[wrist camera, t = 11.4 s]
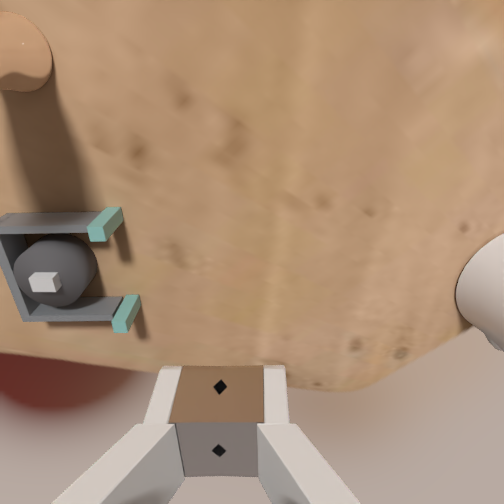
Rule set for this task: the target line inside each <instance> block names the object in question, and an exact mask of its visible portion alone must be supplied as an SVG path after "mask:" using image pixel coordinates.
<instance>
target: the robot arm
mask: <svg viewBox="0 0 504 504" xmlns="http://www.w3.org/2000/svg"><path fill="white" fill-rule="evenodd" d="M456 301H457V306H458V308H459V311H460V312H461V314H462V315H463V317H464V318H465V319H466V320H467V321H468V322H470V323H471V324H472V325H474V326H475V327H477V328H478V329H479V330H481V331H482V332H483V333H484V334H485V336H486V337H487V339H488V341H489V342H490V343H491V344H492V345H493V346H494V347H495V348H496V349H498V350H503V351H504V234H502V235H500V236H498V237H496V238H495V239H493V240H492V241H490V242H489V243H487V244H486V245H485V246H484V247H482V248H481V249H480V250H479V251H478V252H477V253H476V254H475V255H474V256H473V257H472V258H471V259H470V261H469V262H468V263H467V265H466V266H465V268H464V270H463V271H462V273H461V275H460V278H459V281H458V284H457V289H456ZM263 373H264V379H263ZM197 476H243V477H244V476H245V477H259V481H260V482H261V484H262V486H263V488H264V490H265V492H266V494H267V495H268V497H269V499H270V501H271V502H272V504H361V503H360V501H359V500H358V499H357V498H356V496H355V495H354V494H353V493H352V492H351V490H350V489H349V488H348V487H347V486H346V484H345V483H344V482H343V481H342V479H341V478H340V477H339V475H338V474H337V473H336V472H335V471H334V469H333V468H332V467H331V466H330V464H329V463H328V462H327V461H326V459H325V458H324V457H323V456H322V455H321V453H320V452H319V451H318V450H317V448H316V447H315V446H314V445H313V443H312V442H311V441H310V440H309V439H308V437H307V436H306V435H305V434H304V432H303V431H302V430H301V429H300V427H299V426H298V425H297V424H293V423H292V424H291V423H290V418H289V407H288V395H287V383H286V371H285V367H284V365H264V368H263V365H258V366H163V367H162V368H161V370H160V371H159V374H158V378H157V381H156V384H155V387H154V390H153V393H152V396H151V400H150V403H149V406H148V409H147V412H146V415H145V418H144V421H143V424H136V425H135V426H133V427H132V428H131V429H130V430H129V431H128V432H127V433H126V434H125V435H124V436H123V437H122V438H121V439H120V440H119V441H117V442H116V443H115V444H114V445H113V446H112V447H111V448H110V449H109V450H108V451H107V452H106V453H105V454H104V455H102V456H101V457H100V458H99V459H98V460H97V461H96V462H95V463H94V464H93V465H92V466H91V467H90V468H89V469H87V470H86V471H85V472H84V473H83V474H82V475H81V476H80V477H79V478H78V479H77V480H76V481H75V482H74V483H72V485H70V486H69V487H68V488H67V489H66V490H65V491H64V492H63V493H62V494H61V495H60V496H59V497H58V498H56V499H55V500H54V501H53V502H52V503H51V504H168V503H169V501H170V500H171V498H172V497H173V496H174V494H175V493H176V491H177V490H178V488H179V487H180V486H181V484H182V483H183V481H184V480H185V478H184V477H197Z"/></svg>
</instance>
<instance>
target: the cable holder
mask: <svg viewBox="0 0 504 504" xmlns="http://www.w3.org/2000/svg"><path fill="white" fill-rule="evenodd" d="M122 222H123V215H122V211H121V207H106V208H105V209H104V210H103V211H102V212H50V213H7V214H5V215H3V216H2V217H0V266H1V268H2V271H3V273H4V276H5V278H6V280H7V283H8V285H9V288H10V290H11V293H12V295H13V298H14V300H15V303H16V305H17V308H18V310H19V313H20V315H21V318H22V320H23V322H42V321H111V323H112V327H113V330H114V333H128V331H129V329H130V327H131V325H132V323H133V321H134V319H135V317H136V315H137V313H138V310H139V308H140V306H141V302H140V297H139V295H126V296H125V298H124V300H123V297H79V298H78V299H77V300H76V301H75V302H73V303H71V304H69V305H66V306H58V307H56V306H48V305H44V304H42V303H39V302H37V301H35V300H33V299H32V298H30V297H29V296H27V295H26V294H25V293H24V292H23V291H22V290H21V288H20V287H19V286H18V284H17V282H16V280H15V277H14V272H13V270H14V264H15V261H16V260H17V258H18V257H19V256H20V255H21V254H22V253H23V252H25V251H26V250H27V249H28V245H27V243H26V240H25V237H24V234H36V233H88V235H89V238H90V242H98V241H107V240H108V238H109V237H110V236H111V235H112V234H113V232H114V231H115V230H116V229H117V228H118V226H119V225H120V224H121V223H122Z"/></svg>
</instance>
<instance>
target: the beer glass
mask: <svg viewBox="0 0 504 504" xmlns="http://www.w3.org/2000/svg"><path fill="white" fill-rule="evenodd" d="M51 71H52V55H51V51H50V48H49V45H48V43H47V41H46V39H45V37H44V35H43V34H42V33H41V31H40V30H39V29H38V28H37V27H36V26H35V25H34V24H33V23H32V22H31V21H30V20H28V19H27V18H25V17H23V16H21V15H19V14H17V13H13V12H9V11H0V91H2V90H5V89H8V90H13V91H20V92H30V91H34V90H37V89H39V88H40V87H42V86H43V85H44V84H45V83H46V82H47V80H48V79H49V77H50V74H51Z"/></svg>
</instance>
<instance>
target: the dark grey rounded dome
mask: <svg viewBox="0 0 504 504" xmlns="http://www.w3.org/2000/svg"><path fill="white" fill-rule="evenodd" d="M13 272H14V277H15V280H16V282H17V284H18V286H19V287H20V288H21V290H22V291H23V292H24V293H25V294H26V295H27V296H29V297H30V298H32V299H33V300H35V301H37V302H39V303H42V304H44V305H48V306H56V307H58V306H66V305H69V304H71V303H73V302H75V301H76V300H77V299H78V298H79V297H80V295H81V294H82V293H83V291H84V290H85V289H86V287H87V286H88V285H89V283H90V282H91V281H92V279H93V278H94V277H95V275H96V272H97V260H96V257H95V254H94V253H93V251H92V249H91V248H90V247H89V246H88V245H87V244H86V243H85V242H84V241H82V240H81V239H79V238H77V237H76V236H73V235H71V234H67V233H50V234H47V235H45V236H43V237H42V238H40V239H39V240H38V241H37V242H36V243H34V244H33V245H32V246H31V247H29V248H28V249H27V250H26V251H25V252H23V253H22V254H21V255H20V256H19V257H18V258H17V260H16V261H15V264H14V270H13Z"/></svg>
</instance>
